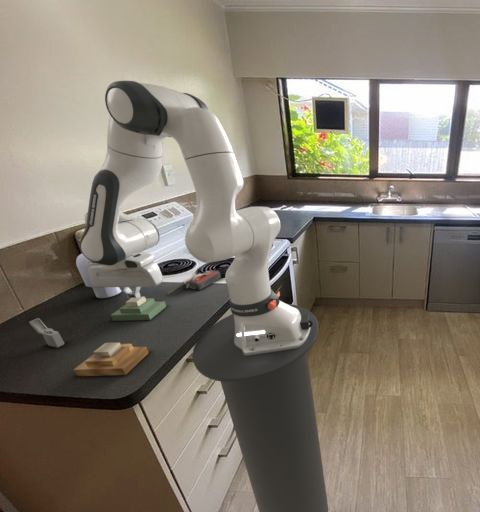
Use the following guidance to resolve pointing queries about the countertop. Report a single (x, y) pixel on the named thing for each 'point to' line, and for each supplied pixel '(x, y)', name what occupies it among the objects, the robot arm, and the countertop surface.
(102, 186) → the robot arm
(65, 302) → the countertop surface
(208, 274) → the walkie-talkie
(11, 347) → the countertop surface
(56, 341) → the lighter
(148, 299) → the key block
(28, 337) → the countertop surface
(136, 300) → the far key
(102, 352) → the near key
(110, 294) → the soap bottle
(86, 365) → the key block
